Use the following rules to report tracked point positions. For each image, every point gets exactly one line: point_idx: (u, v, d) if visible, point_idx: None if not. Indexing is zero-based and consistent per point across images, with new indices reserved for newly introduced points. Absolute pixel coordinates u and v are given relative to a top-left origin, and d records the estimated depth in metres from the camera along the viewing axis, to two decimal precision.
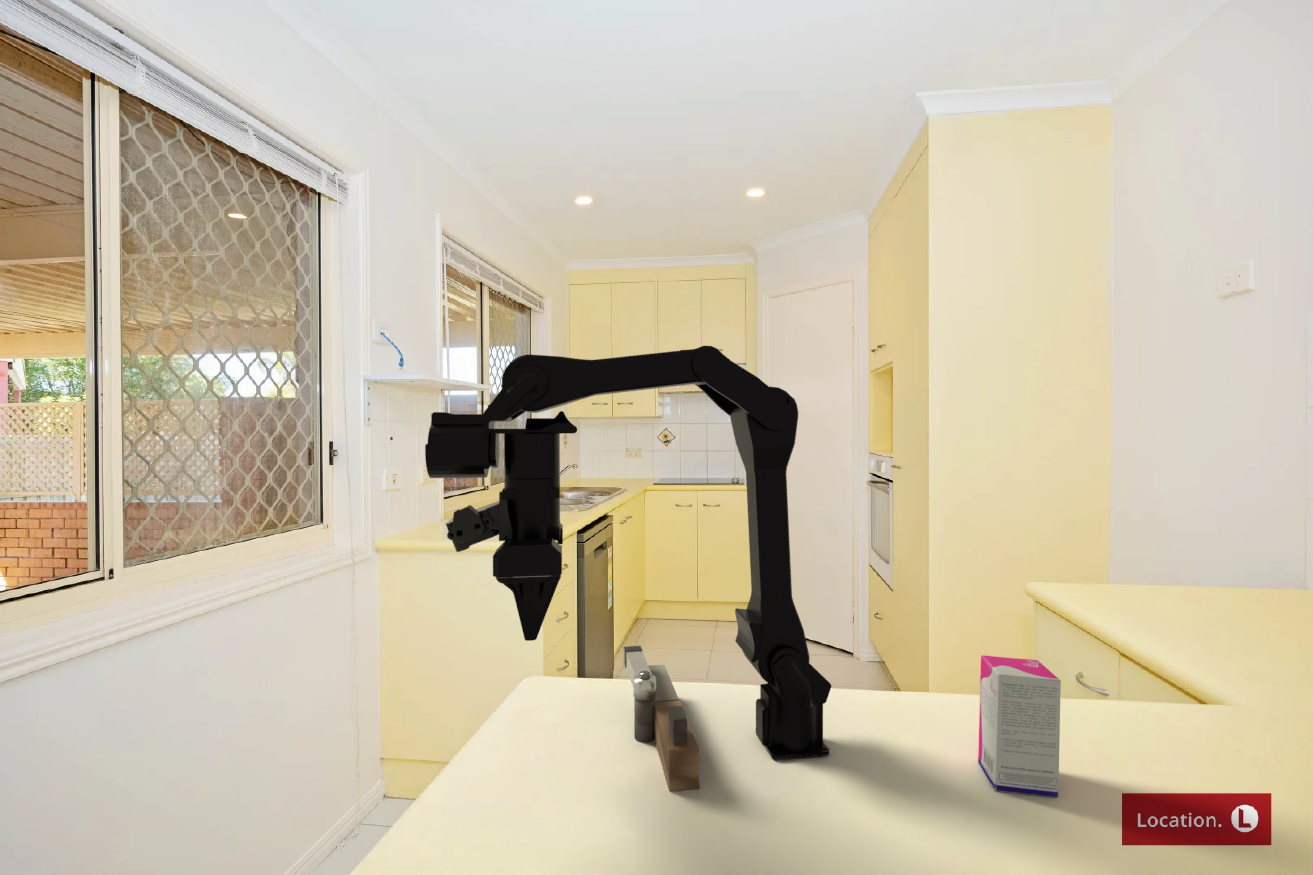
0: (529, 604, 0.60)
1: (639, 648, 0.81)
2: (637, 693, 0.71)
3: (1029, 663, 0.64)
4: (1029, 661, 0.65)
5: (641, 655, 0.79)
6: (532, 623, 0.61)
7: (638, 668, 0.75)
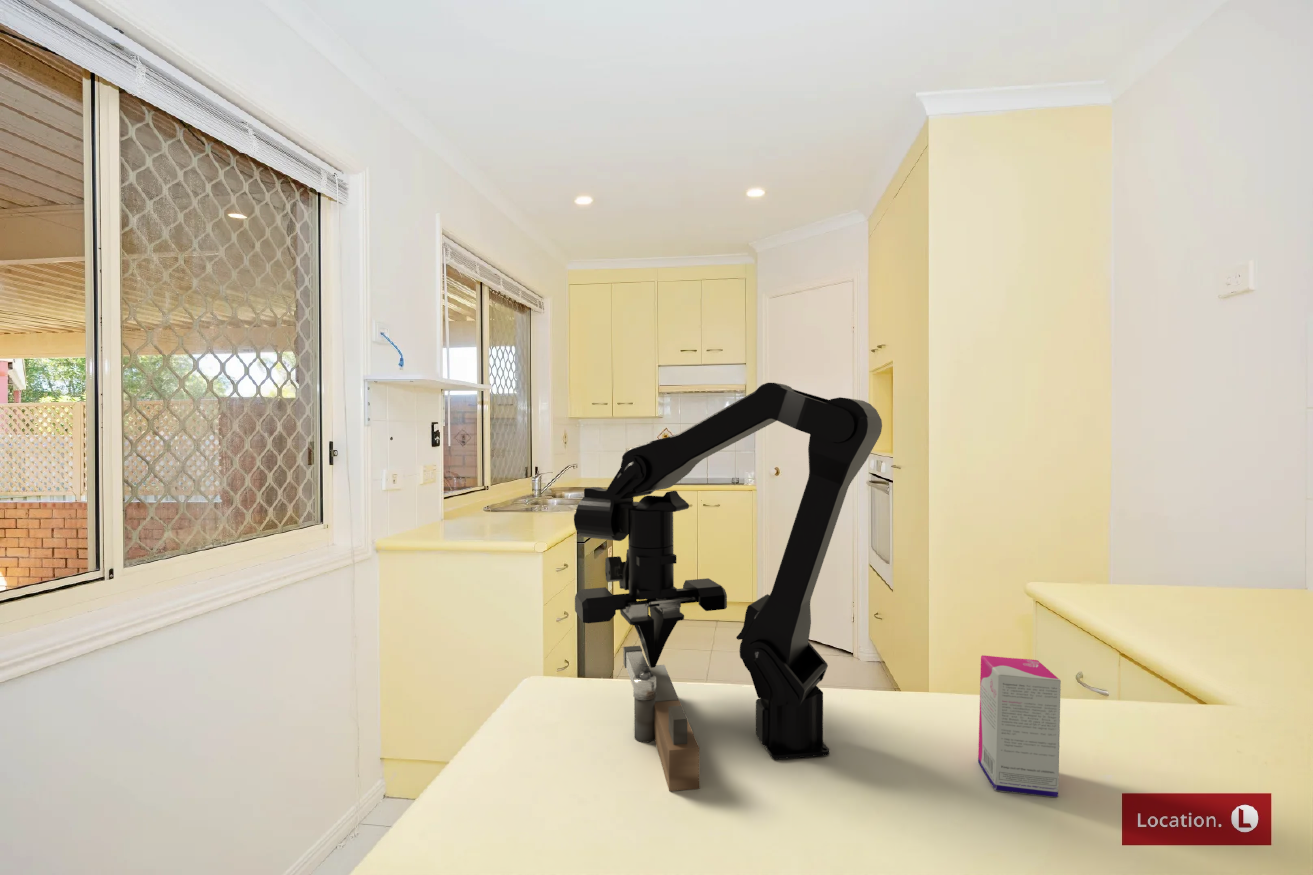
0: (642, 637, 0.80)
1: (639, 648, 0.81)
2: (637, 693, 0.71)
3: (1029, 663, 0.64)
4: (1029, 661, 0.65)
5: (641, 655, 0.79)
6: (646, 653, 0.79)
7: (638, 668, 0.75)
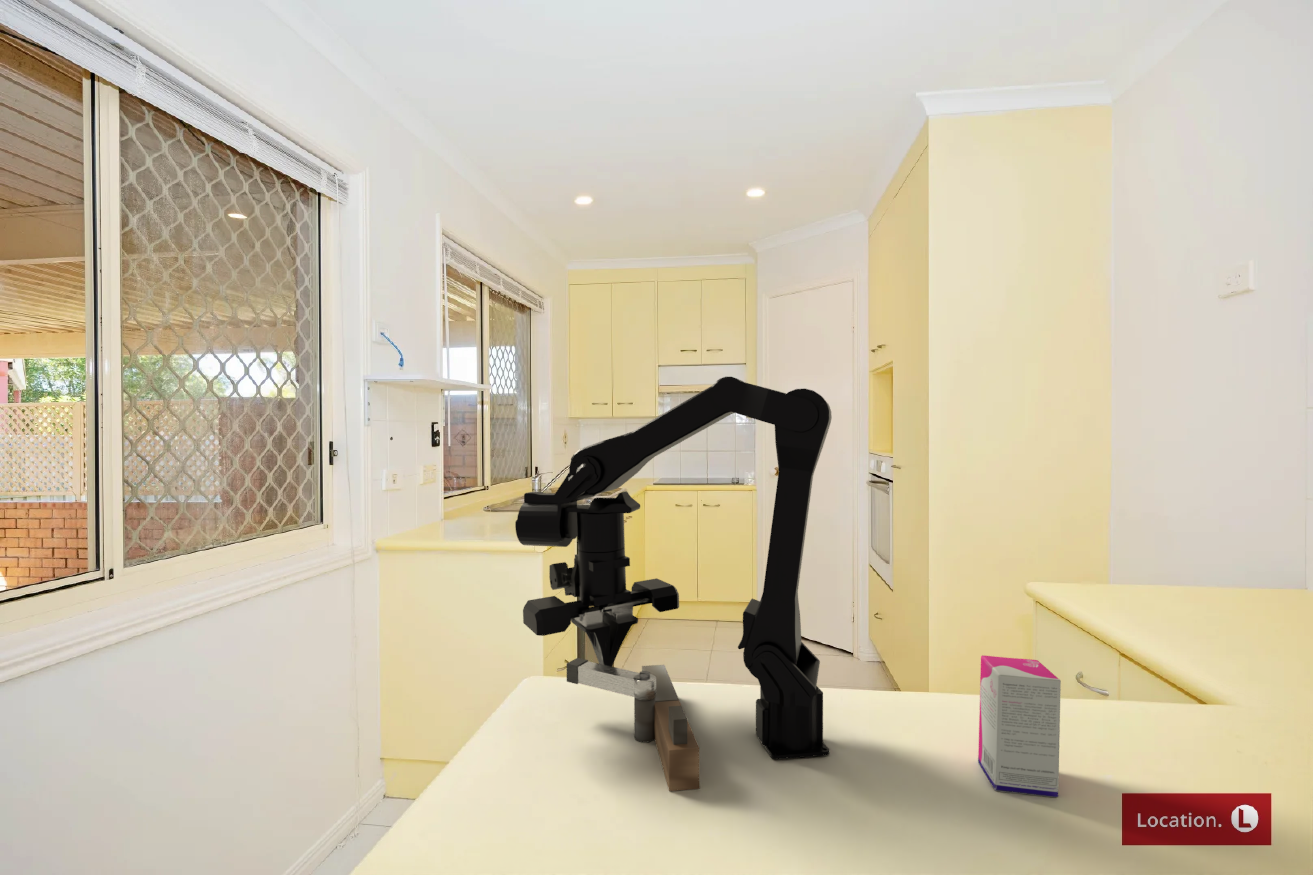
0: (595, 644, 0.77)
1: (583, 660, 0.77)
2: (646, 694, 0.71)
3: (1029, 663, 0.64)
4: (1029, 661, 0.65)
5: (597, 664, 0.76)
6: (600, 660, 0.77)
7: (622, 673, 0.73)
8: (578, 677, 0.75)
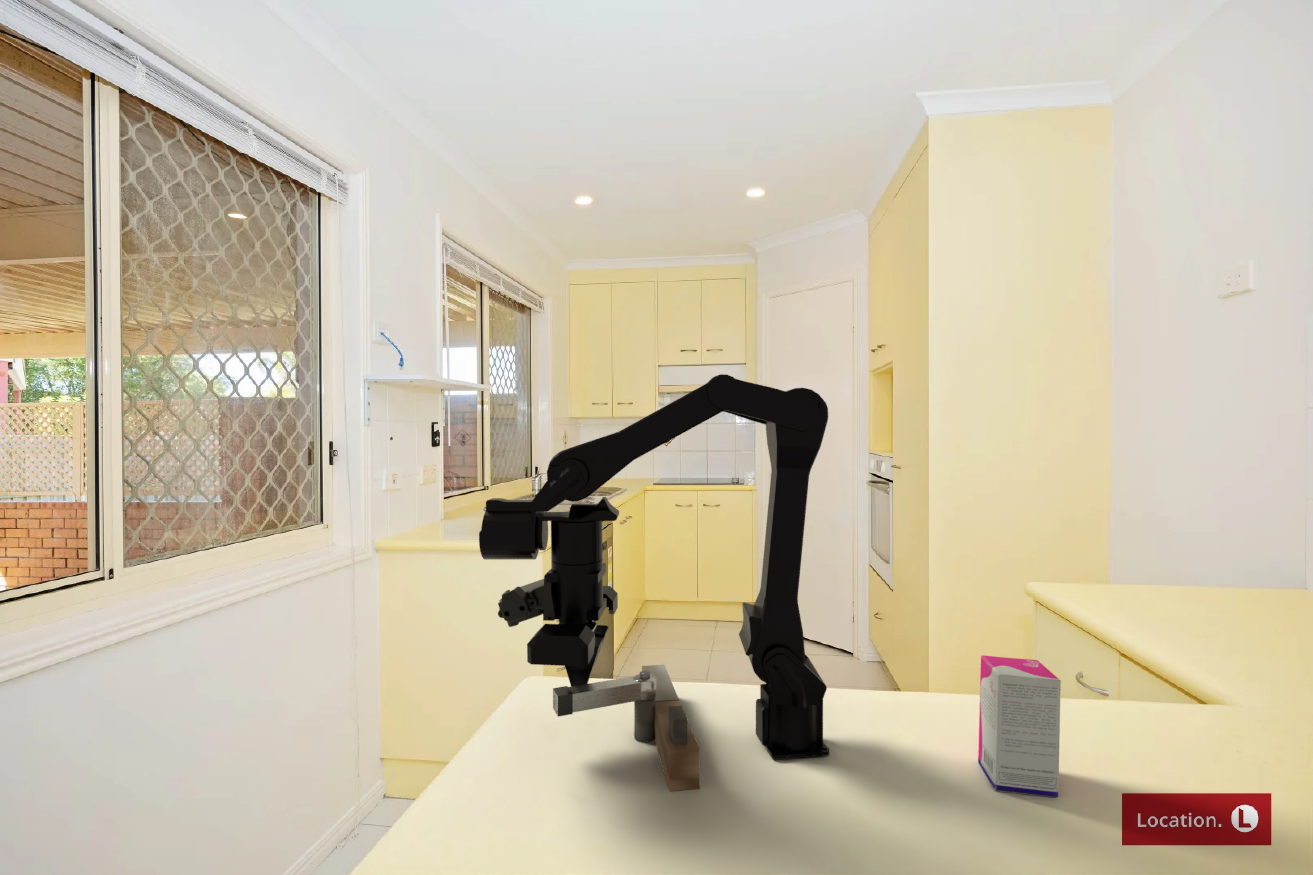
0: (575, 666, 0.70)
1: (563, 687, 0.69)
2: (654, 691, 0.71)
3: (1029, 663, 0.64)
4: (1029, 661, 0.65)
5: (582, 685, 0.70)
6: (579, 681, 0.70)
7: (622, 682, 0.71)
8: (573, 706, 0.68)
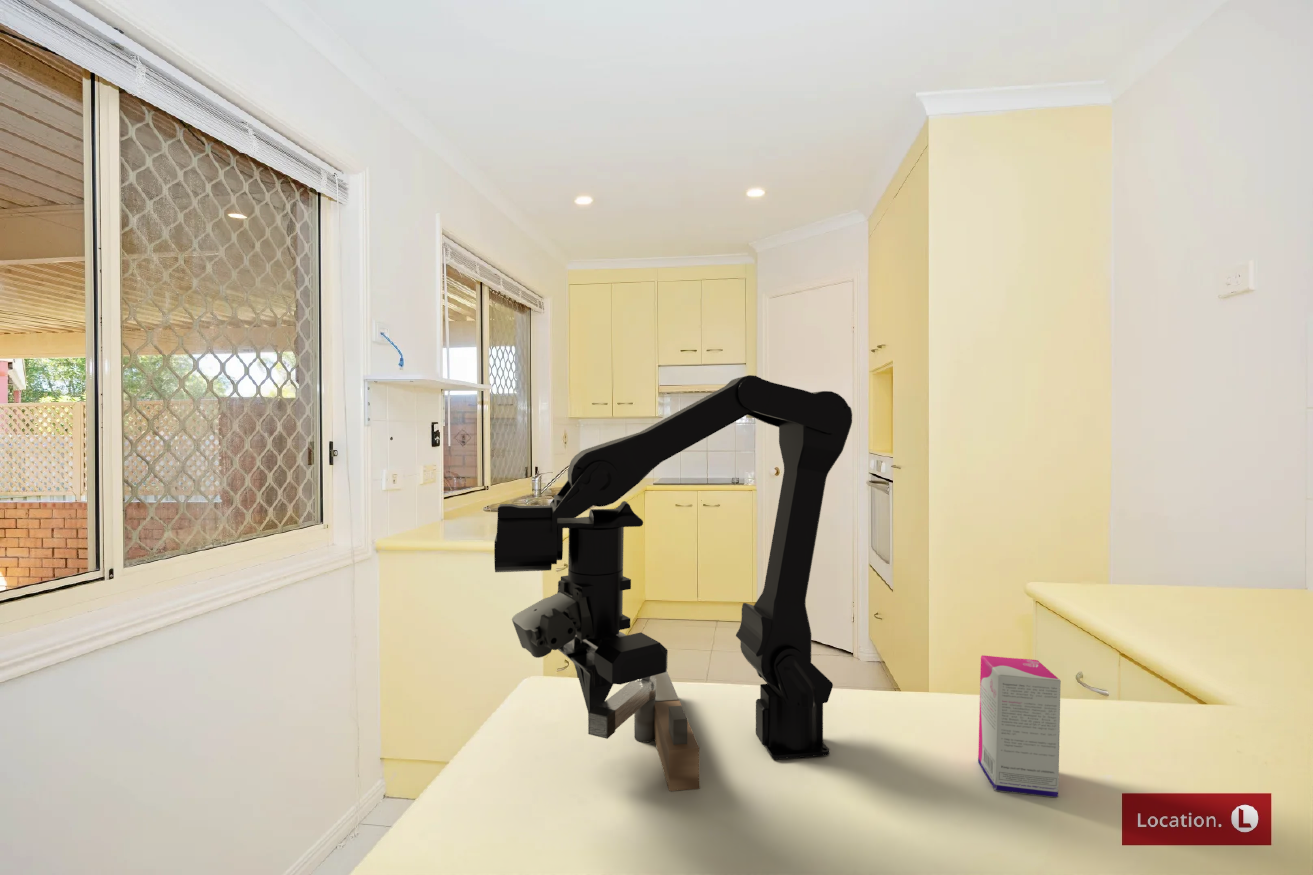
0: (599, 683, 0.65)
1: (596, 708, 0.64)
2: None
3: (1029, 663, 0.64)
4: (1029, 661, 0.65)
5: (607, 701, 0.66)
6: (599, 699, 0.66)
7: (635, 687, 0.69)
8: (615, 723, 0.64)
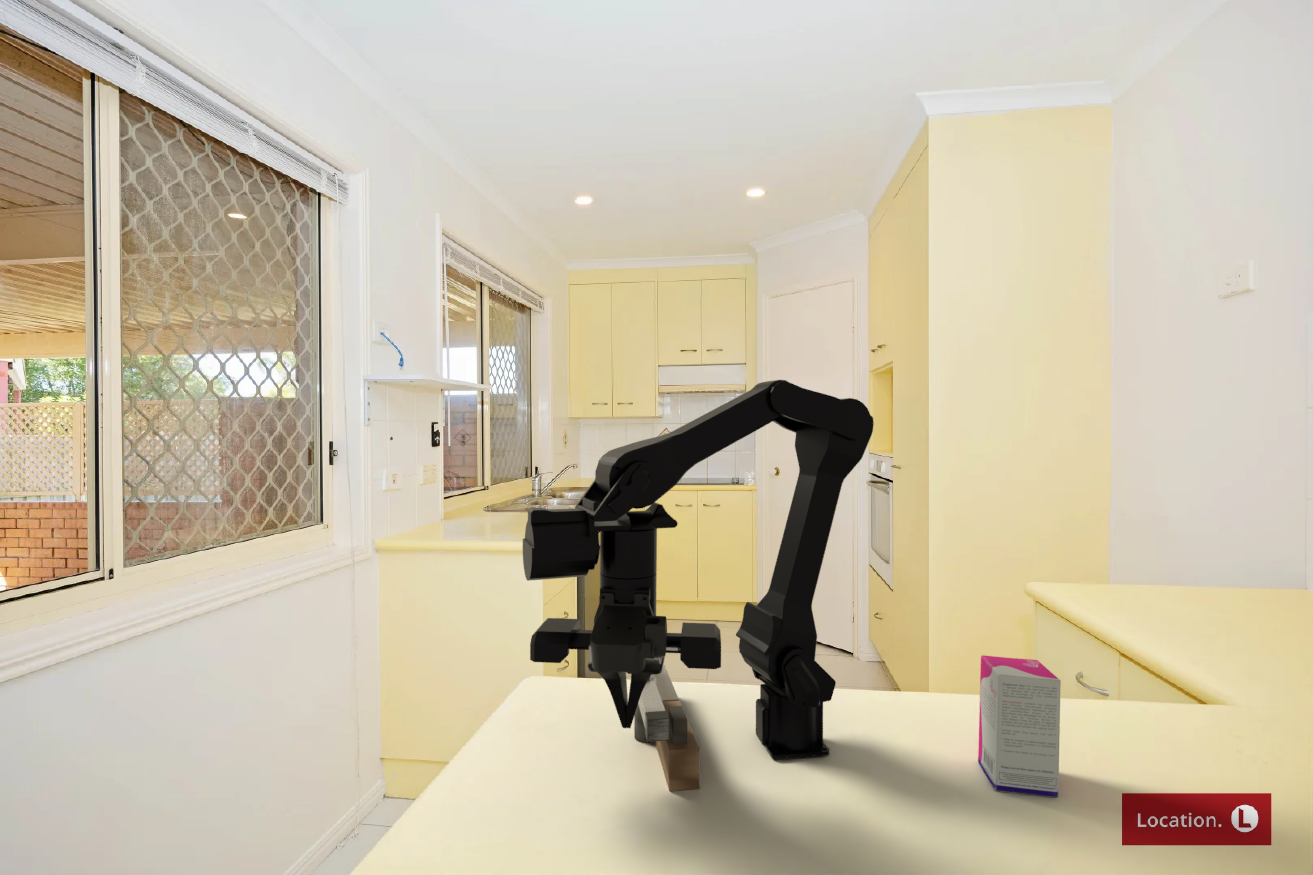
0: None
1: (648, 713, 0.63)
2: None
3: (1029, 663, 0.64)
4: (1029, 661, 0.65)
5: (646, 705, 0.65)
6: None
7: (650, 687, 0.69)
8: None
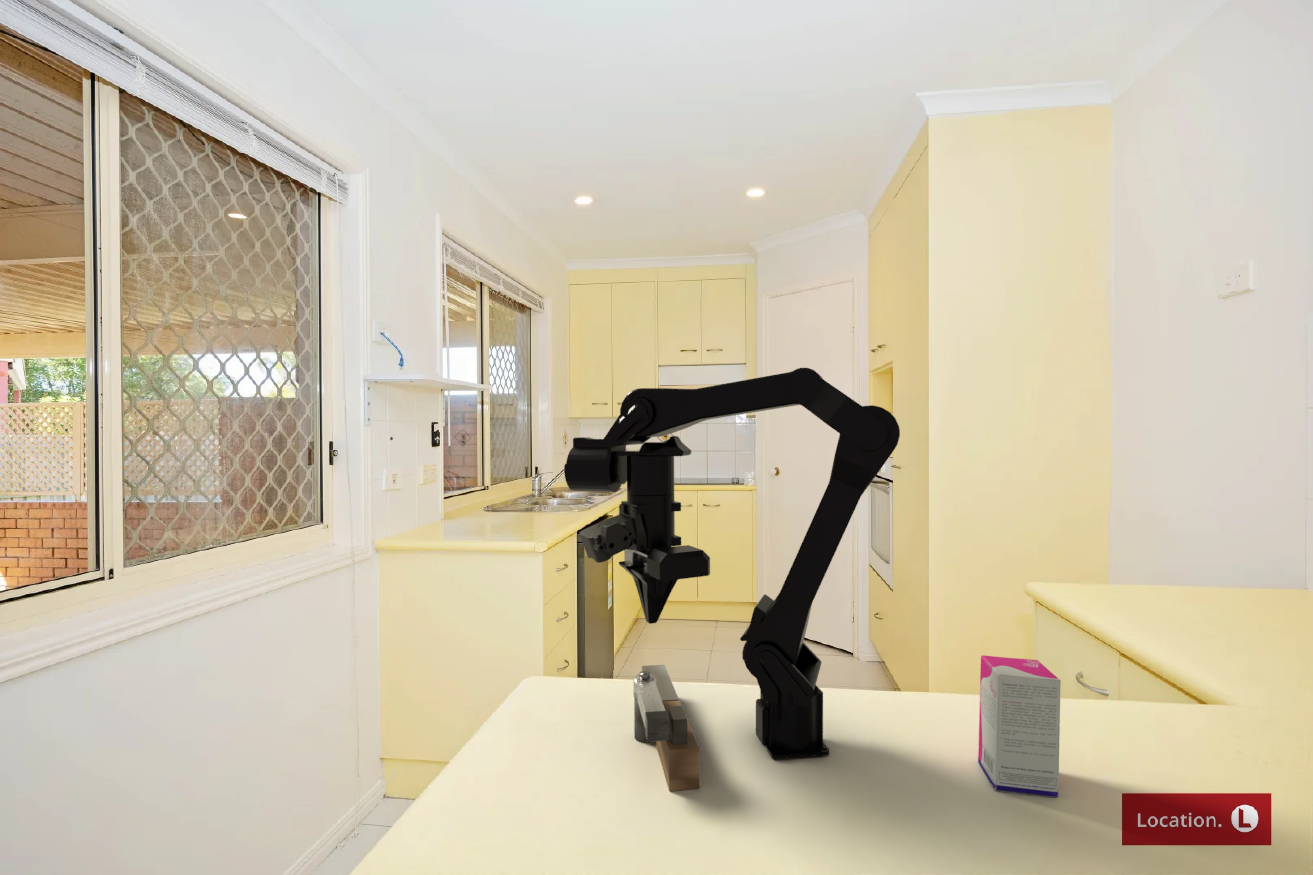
0: (656, 593, 0.75)
1: (648, 713, 0.63)
2: None
3: (1029, 663, 0.64)
4: (1029, 661, 0.65)
5: (646, 705, 0.65)
6: (656, 609, 0.75)
7: (650, 687, 0.69)
8: None
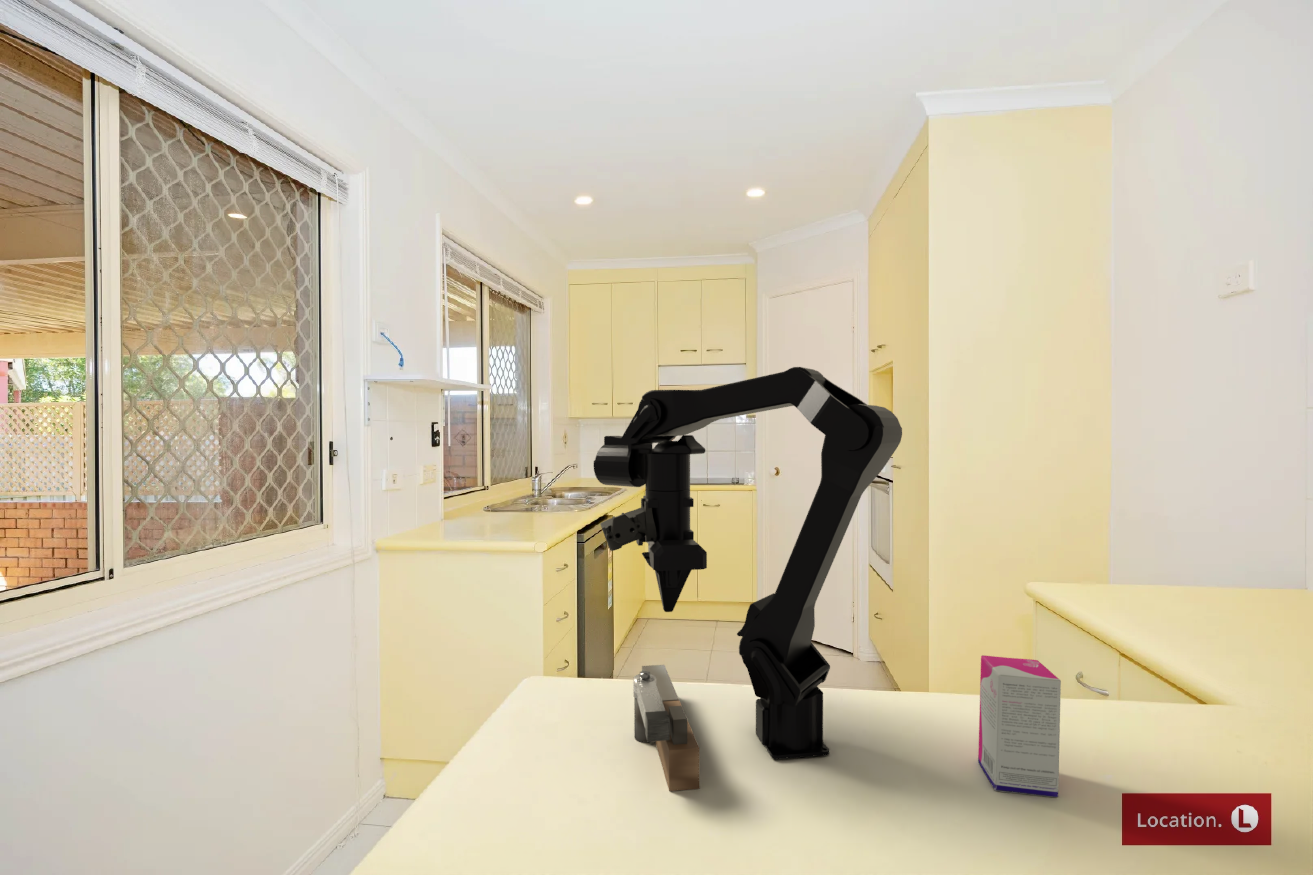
0: (669, 584, 0.79)
1: (648, 713, 0.63)
2: None
3: (1029, 663, 0.64)
4: (1029, 661, 0.65)
5: (646, 705, 0.65)
6: (671, 598, 0.79)
7: (650, 687, 0.69)
8: None
